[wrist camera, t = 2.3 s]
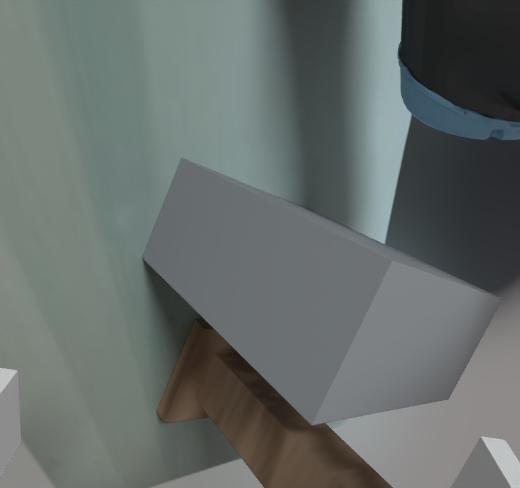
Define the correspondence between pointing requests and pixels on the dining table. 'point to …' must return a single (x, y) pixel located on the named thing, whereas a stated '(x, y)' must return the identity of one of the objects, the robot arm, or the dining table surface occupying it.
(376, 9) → the dining table surface
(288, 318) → the block
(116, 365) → the dining table surface
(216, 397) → the stand
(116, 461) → the dining table surface
